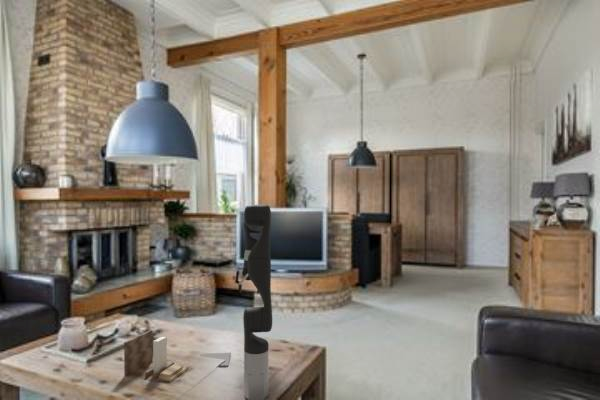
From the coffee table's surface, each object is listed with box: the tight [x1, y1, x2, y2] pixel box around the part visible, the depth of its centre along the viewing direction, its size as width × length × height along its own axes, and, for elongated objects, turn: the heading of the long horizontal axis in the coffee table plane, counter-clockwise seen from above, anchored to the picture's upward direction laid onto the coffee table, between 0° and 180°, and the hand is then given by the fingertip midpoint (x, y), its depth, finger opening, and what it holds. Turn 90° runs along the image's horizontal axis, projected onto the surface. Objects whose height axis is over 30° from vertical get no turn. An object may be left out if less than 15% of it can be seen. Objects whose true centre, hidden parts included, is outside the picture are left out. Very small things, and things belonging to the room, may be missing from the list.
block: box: [153, 336, 168, 374], centre depth 171 cm, size 6×2×14 cm, turn 161°
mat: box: [199, 352, 232, 368], centre depth 185 cm, size 14×14×1 cm
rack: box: [123, 329, 195, 385], centre depth 171 cm, size 16×23×15 cm
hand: (249, 292), depth 197 cm, fingers open, 8 cm apart
